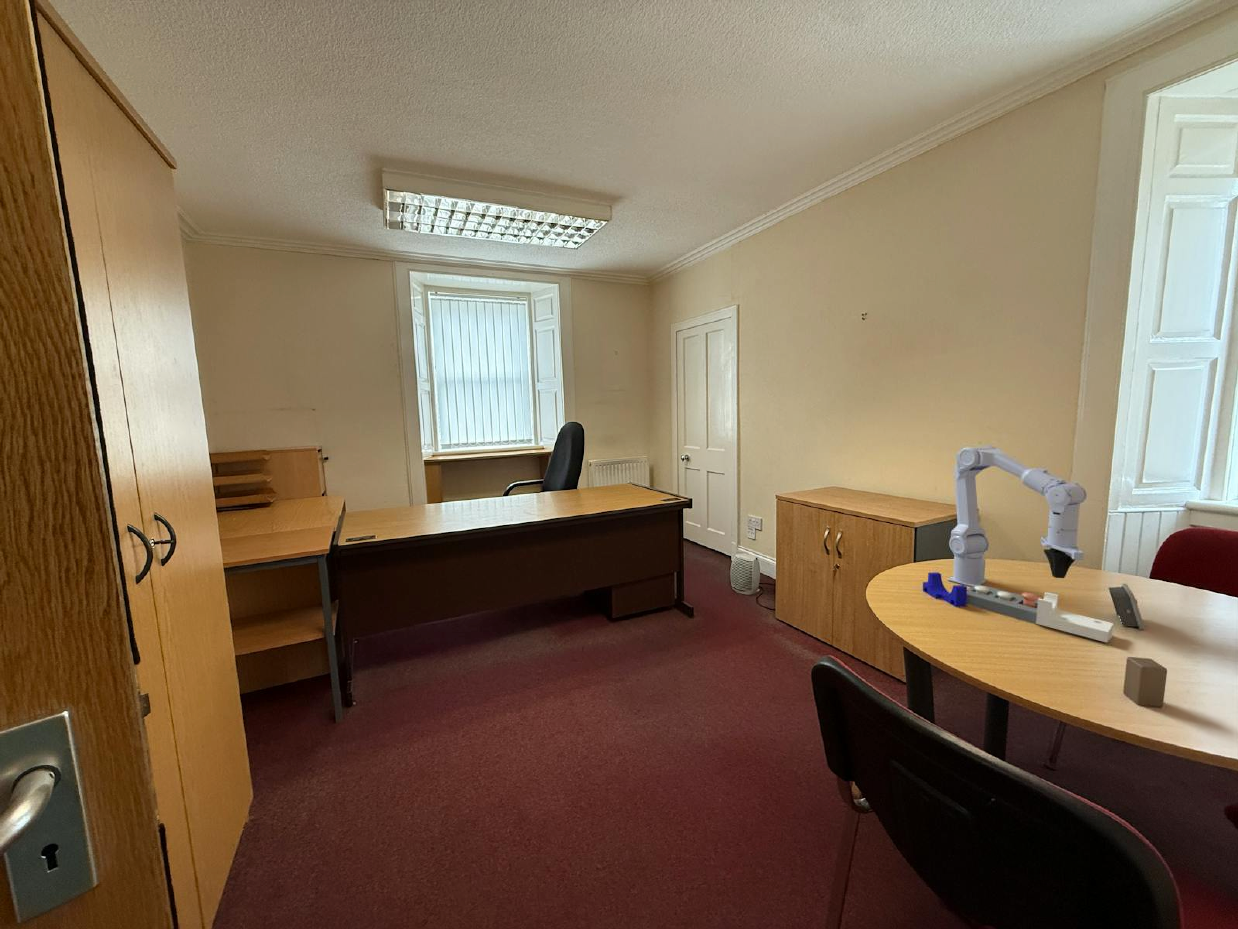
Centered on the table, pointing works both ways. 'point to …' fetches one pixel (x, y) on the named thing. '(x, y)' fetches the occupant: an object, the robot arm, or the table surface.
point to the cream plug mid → (1005, 595)
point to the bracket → (1071, 620)
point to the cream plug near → (982, 590)
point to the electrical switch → (1126, 606)
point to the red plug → (1029, 599)
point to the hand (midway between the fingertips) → (1058, 577)
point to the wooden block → (1145, 681)
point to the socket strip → (1002, 604)
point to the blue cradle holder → (939, 592)
